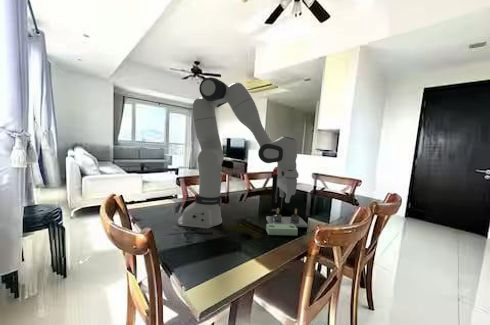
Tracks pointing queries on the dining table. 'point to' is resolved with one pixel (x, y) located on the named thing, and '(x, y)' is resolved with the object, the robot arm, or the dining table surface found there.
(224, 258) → the dining table surface
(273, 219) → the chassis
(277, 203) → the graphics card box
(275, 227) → the board
